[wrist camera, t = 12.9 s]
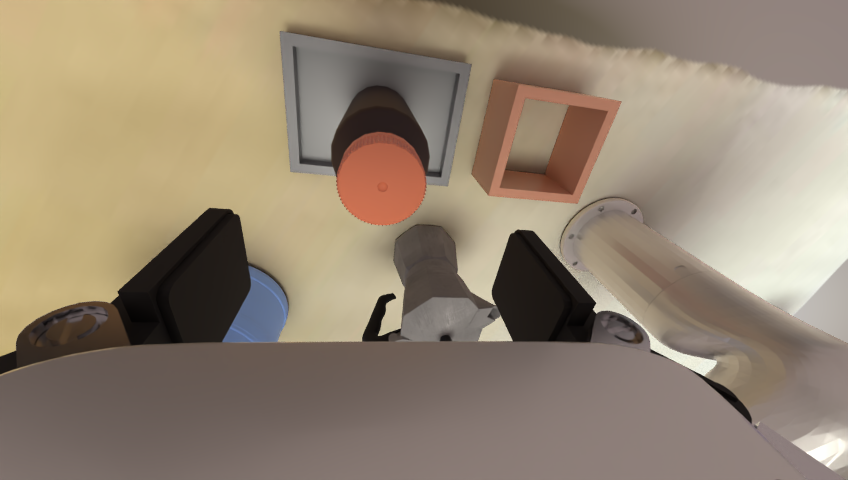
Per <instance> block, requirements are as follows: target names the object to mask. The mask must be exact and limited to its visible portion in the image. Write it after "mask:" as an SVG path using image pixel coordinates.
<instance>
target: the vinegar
mask: <svg viewBox="0 0 848 480" xmlns="http://www.w3.org/2000/svg"><path fill="white" fill-rule="evenodd" d="M429 160H430V153H429V147H428V141H427V139H426V137H425V135H424V133H423V131H422V129H421V127H420V125H419V124H418V122H417V120H416V119H415V117H414V115H413V114H412V112H411V110H410V108H409V107H408V105H407V103H406V102H405V100H404V99H403V98H402V97H401V96H400V95H399V94H398V93H397V92H396V91H394V90H392V89H390V88H388V87H385V86H378V85H376V86H371V87H367V88H365V89H364V90H362V91H360V92H359V93H358V94H357V95H356V96H355V97H354V99H353V100H352V101H351V103H350V105H349V107H348V109H347V111H346V113H345V114H344V116H343V118H342V120H341V122H340V124H339V126H338V128H337V129H336V132H335V135H334V138H333V141H332V144H331V163H332V166H333V168H334V171H335V174H336V177H337V181H336V182H337V185H336V186H338V187H337V190H338V193H339V197H341V199H340V200H342V204H343V203H344V207H345V206H346V207H347V208H346V210H347V209H348V210H349V212H351V213H352V215H355V217H358V219H360V220H361V221H362V220H363V221H364V222H368V223H371V225H372V224H375V225H376V224H378V226H379V225H382V226H383V225H388V224H389V225H390V224H394V223H396V224H397V223H398V222H400V221H402V220H403V221H404V219H407V217H410V215H412V213H413V212H414V213H415V210H417V208H418V207H419V205H420V204H421V201H423V198H424V195H425V191H426V189H425V188H427V187H426V184H427V183H426V174H427V172H428V166H429Z"/></svg>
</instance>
